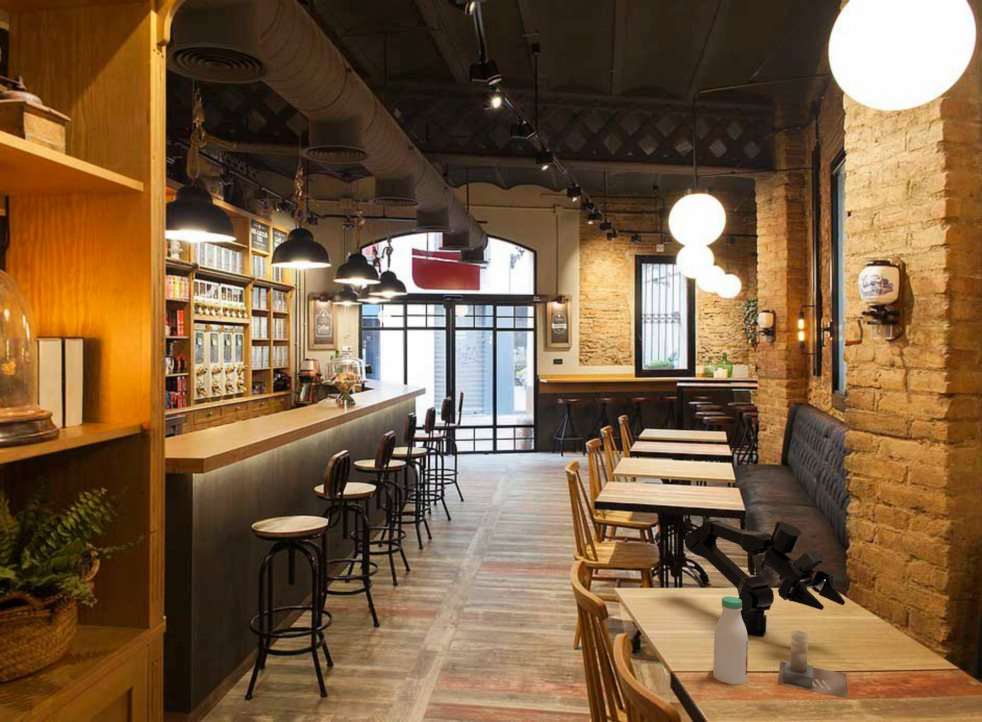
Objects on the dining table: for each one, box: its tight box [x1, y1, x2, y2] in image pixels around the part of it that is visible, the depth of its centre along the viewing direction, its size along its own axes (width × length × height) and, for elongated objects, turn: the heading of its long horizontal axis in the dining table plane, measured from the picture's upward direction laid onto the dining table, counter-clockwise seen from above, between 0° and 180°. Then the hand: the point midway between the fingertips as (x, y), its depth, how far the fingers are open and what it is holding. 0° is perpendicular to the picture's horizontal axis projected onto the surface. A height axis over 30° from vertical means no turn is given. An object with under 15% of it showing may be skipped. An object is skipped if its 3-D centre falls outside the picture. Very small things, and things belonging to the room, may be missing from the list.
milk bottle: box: [712, 596, 749, 685], centre depth 172 cm, size 8×8×20 cm
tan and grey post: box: [784, 630, 814, 688], centre depth 171 cm, size 6×7×11 cm
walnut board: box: [776, 661, 849, 699], centre depth 172 cm, size 15×14×1 cm
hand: (833, 606), depth 182 cm, fingers open, 9 cm apart
